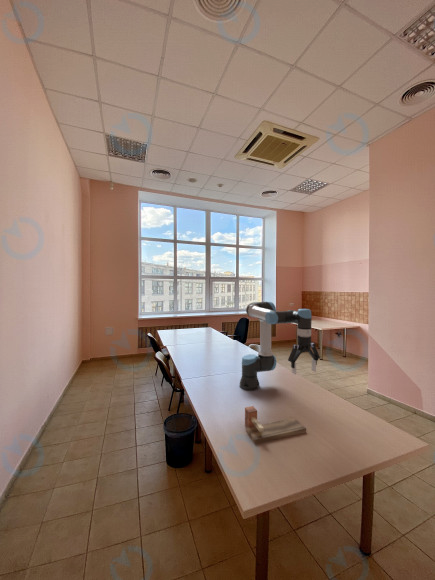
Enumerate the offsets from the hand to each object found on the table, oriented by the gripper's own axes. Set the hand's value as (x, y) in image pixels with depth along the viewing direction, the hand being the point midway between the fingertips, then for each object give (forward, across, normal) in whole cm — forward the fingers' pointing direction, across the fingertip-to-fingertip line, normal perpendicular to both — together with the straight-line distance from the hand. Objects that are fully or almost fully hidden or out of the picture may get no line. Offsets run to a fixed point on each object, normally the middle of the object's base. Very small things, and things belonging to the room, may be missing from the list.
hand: (304, 372), depth 135 cm
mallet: (+27, -33, -3) cm, 43 cm away
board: (+27, -22, -6) cm, 36 cm away
